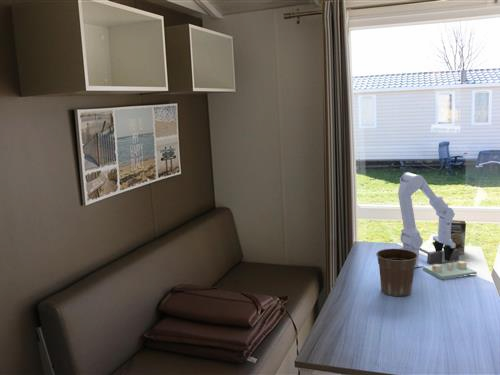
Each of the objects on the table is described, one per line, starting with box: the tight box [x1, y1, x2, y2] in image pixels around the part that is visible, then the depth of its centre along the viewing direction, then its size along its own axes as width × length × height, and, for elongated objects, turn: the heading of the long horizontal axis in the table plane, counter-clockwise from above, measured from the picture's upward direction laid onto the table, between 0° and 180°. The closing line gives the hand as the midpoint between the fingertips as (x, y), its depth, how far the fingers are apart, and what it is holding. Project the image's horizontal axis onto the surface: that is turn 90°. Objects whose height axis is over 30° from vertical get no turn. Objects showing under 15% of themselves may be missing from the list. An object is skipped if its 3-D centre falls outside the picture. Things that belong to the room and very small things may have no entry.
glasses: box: [419, 244, 460, 265], centre depth 254 cm, size 16×10×5 cm, turn 106°
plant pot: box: [375, 248, 418, 297], centre depth 214 cm, size 16×16×16 cm
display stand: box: [422, 260, 478, 281], centre depth 235 cm, size 18×14×4 cm
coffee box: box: [451, 219, 467, 255], centre depth 263 cm, size 9×6×16 cm
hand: (443, 258), depth 251 cm, fingers open, 6 cm apart
